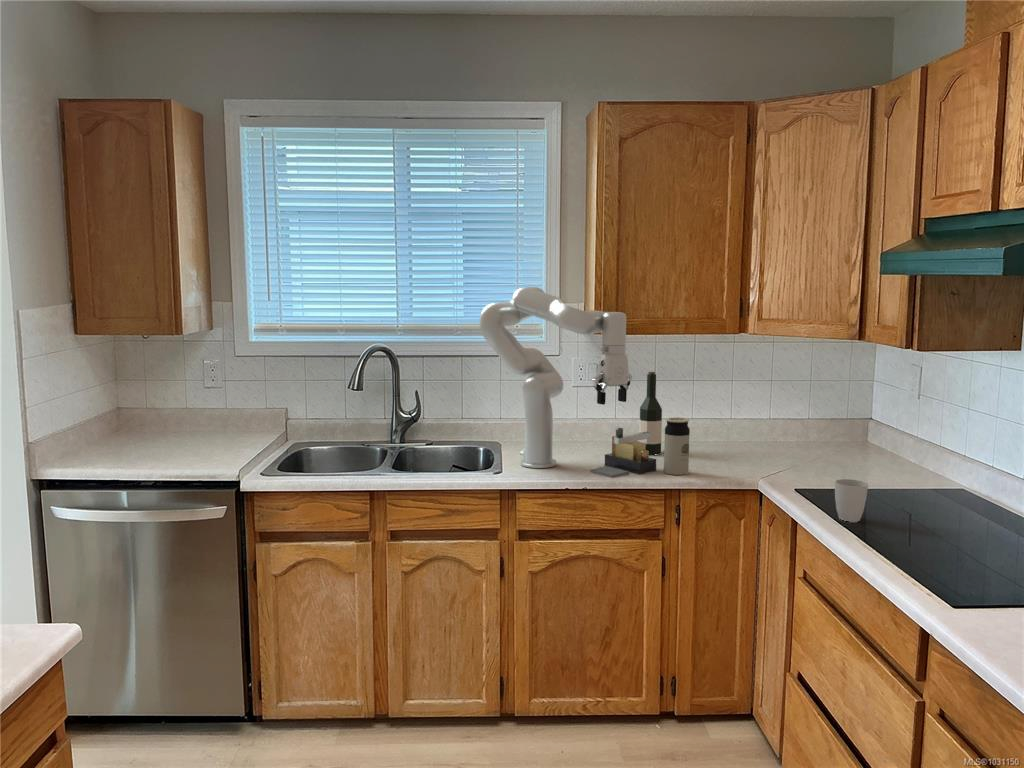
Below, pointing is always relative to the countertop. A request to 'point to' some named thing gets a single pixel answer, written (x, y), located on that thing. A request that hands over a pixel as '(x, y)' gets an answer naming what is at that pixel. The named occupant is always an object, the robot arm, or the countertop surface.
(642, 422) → the wine bottle
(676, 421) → the travel mug
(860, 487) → the cup
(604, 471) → the rubber mat
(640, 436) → the bar
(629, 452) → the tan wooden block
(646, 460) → the dark slate base plate
